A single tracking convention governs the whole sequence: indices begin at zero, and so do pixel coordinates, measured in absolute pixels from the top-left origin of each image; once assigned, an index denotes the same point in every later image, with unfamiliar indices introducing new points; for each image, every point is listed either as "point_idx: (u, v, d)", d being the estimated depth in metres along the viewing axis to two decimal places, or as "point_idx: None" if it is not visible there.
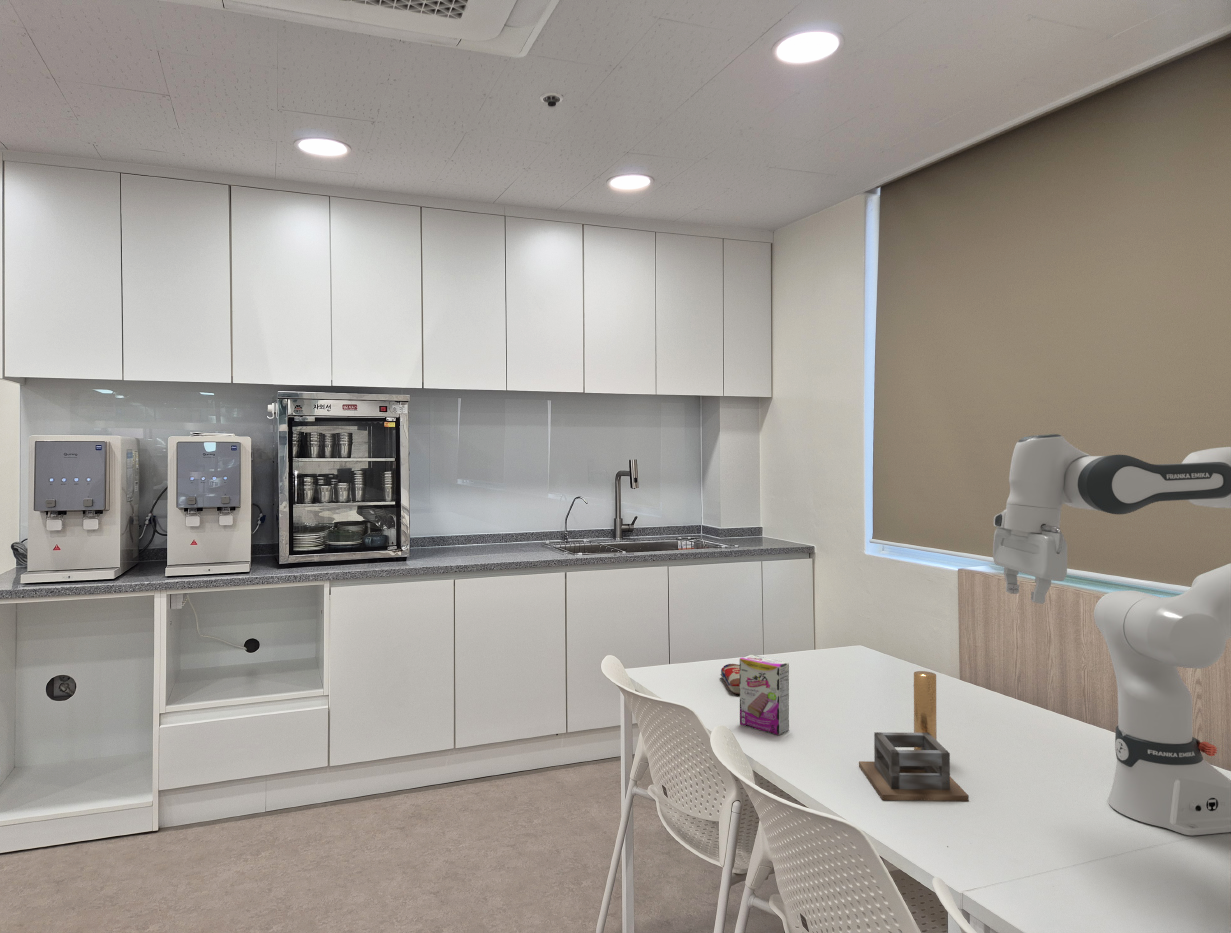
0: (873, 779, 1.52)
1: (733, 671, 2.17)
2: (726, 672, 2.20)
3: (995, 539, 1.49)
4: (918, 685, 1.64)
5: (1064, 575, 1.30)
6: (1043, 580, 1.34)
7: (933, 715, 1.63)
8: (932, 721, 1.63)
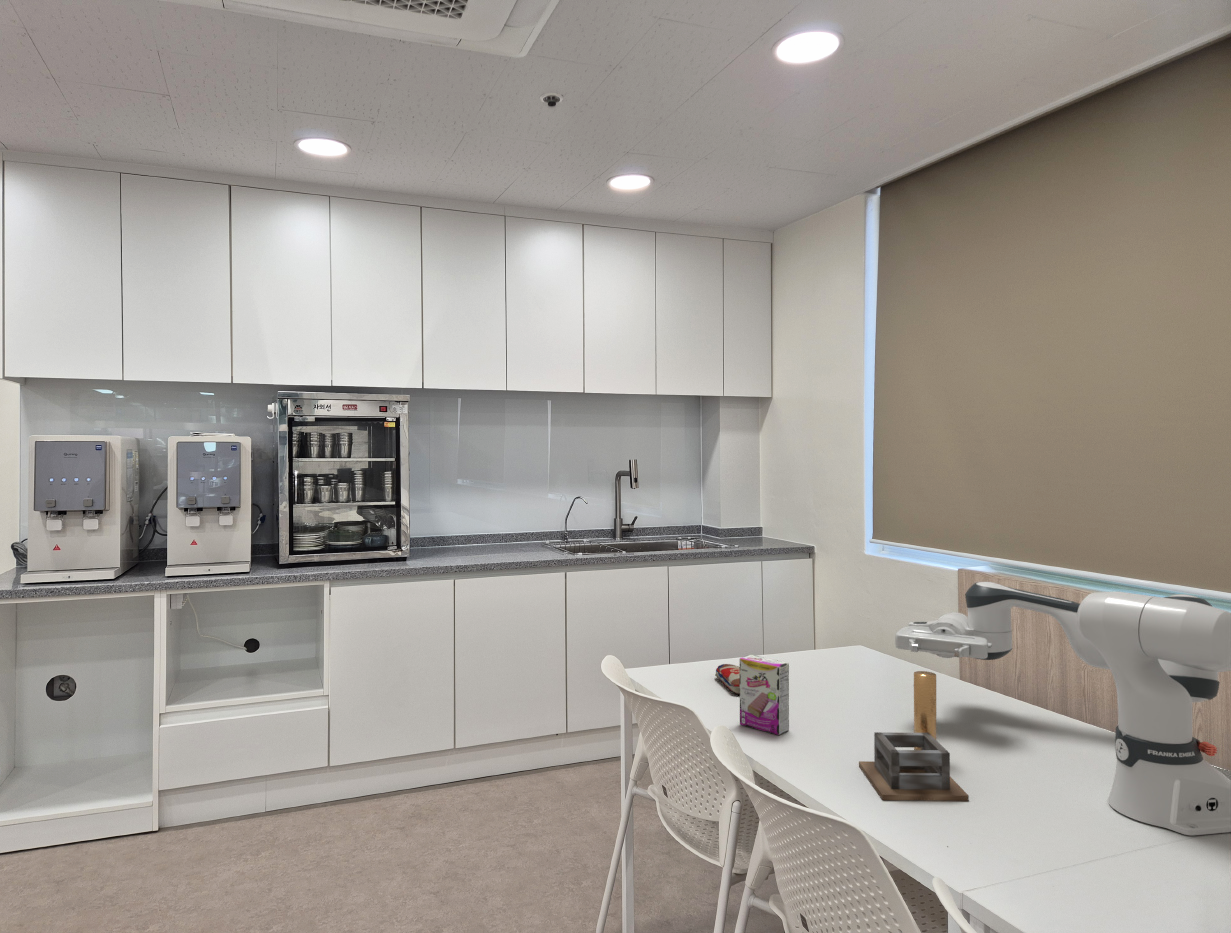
0: (873, 779, 1.52)
1: (731, 671, 2.17)
2: (723, 673, 2.19)
3: (905, 628, 1.88)
4: (918, 685, 1.64)
5: (987, 656, 1.75)
6: (969, 649, 1.76)
7: (933, 715, 1.63)
8: (932, 721, 1.63)
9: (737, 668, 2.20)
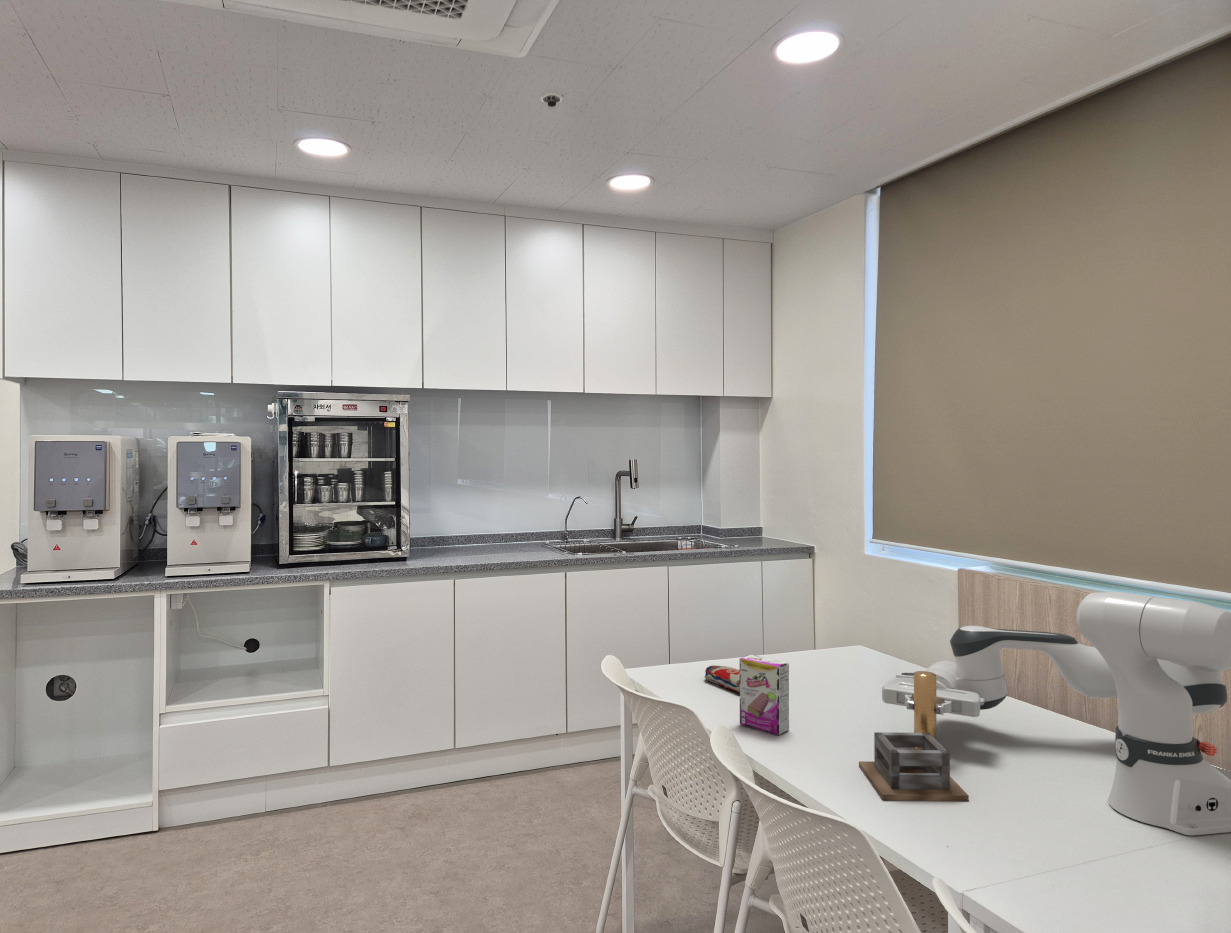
0: (873, 779, 1.52)
1: (729, 672, 2.16)
2: (719, 674, 2.18)
3: (893, 680, 1.77)
4: (918, 685, 1.64)
5: (979, 714, 1.64)
6: (951, 705, 1.66)
7: (933, 715, 1.63)
8: (932, 721, 1.63)
9: (731, 668, 2.19)
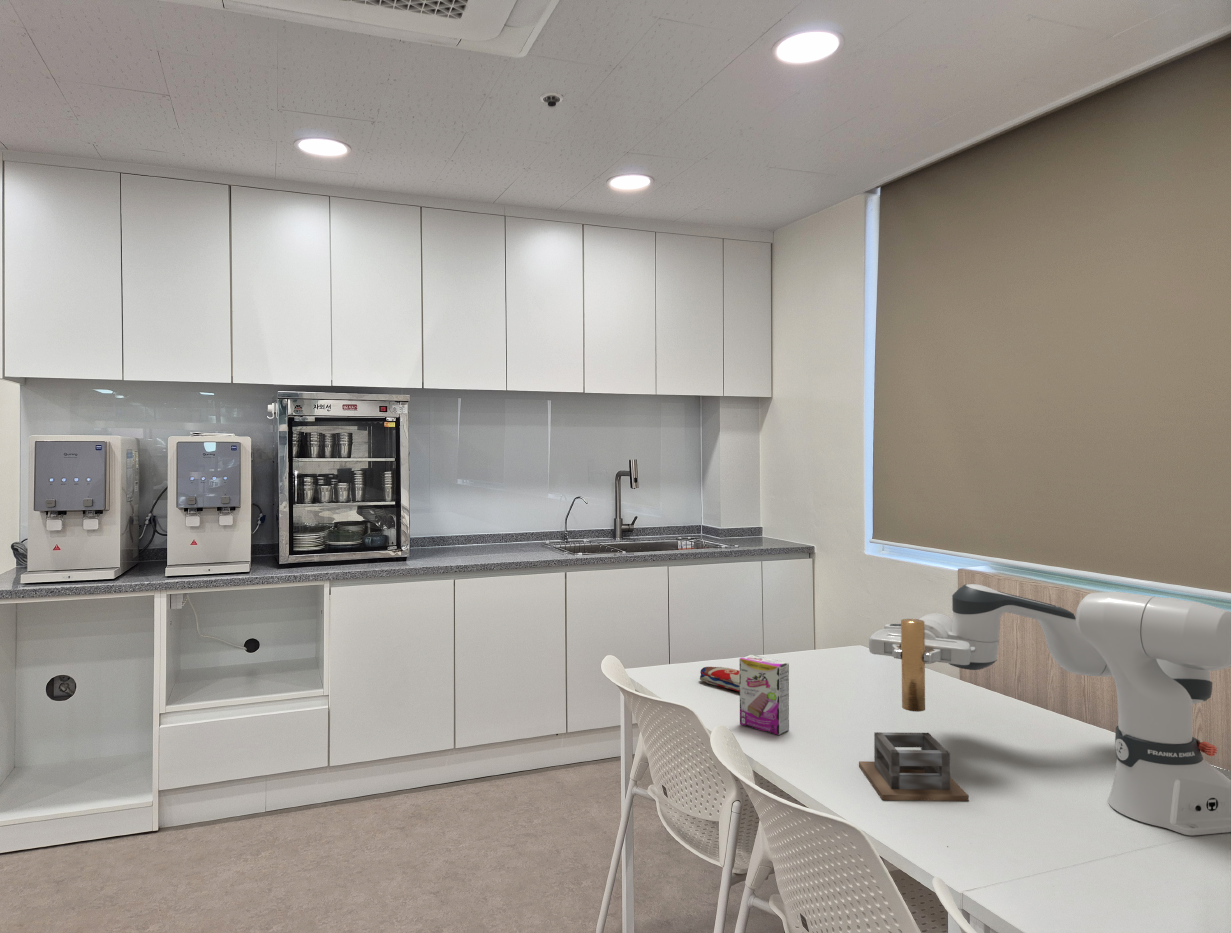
0: (873, 779, 1.52)
1: (728, 673, 2.16)
2: (717, 675, 2.17)
3: (880, 631, 1.71)
4: (905, 633, 1.57)
5: (969, 662, 1.57)
6: (940, 653, 1.59)
7: (921, 663, 1.57)
8: (920, 670, 1.57)
9: (728, 669, 2.19)
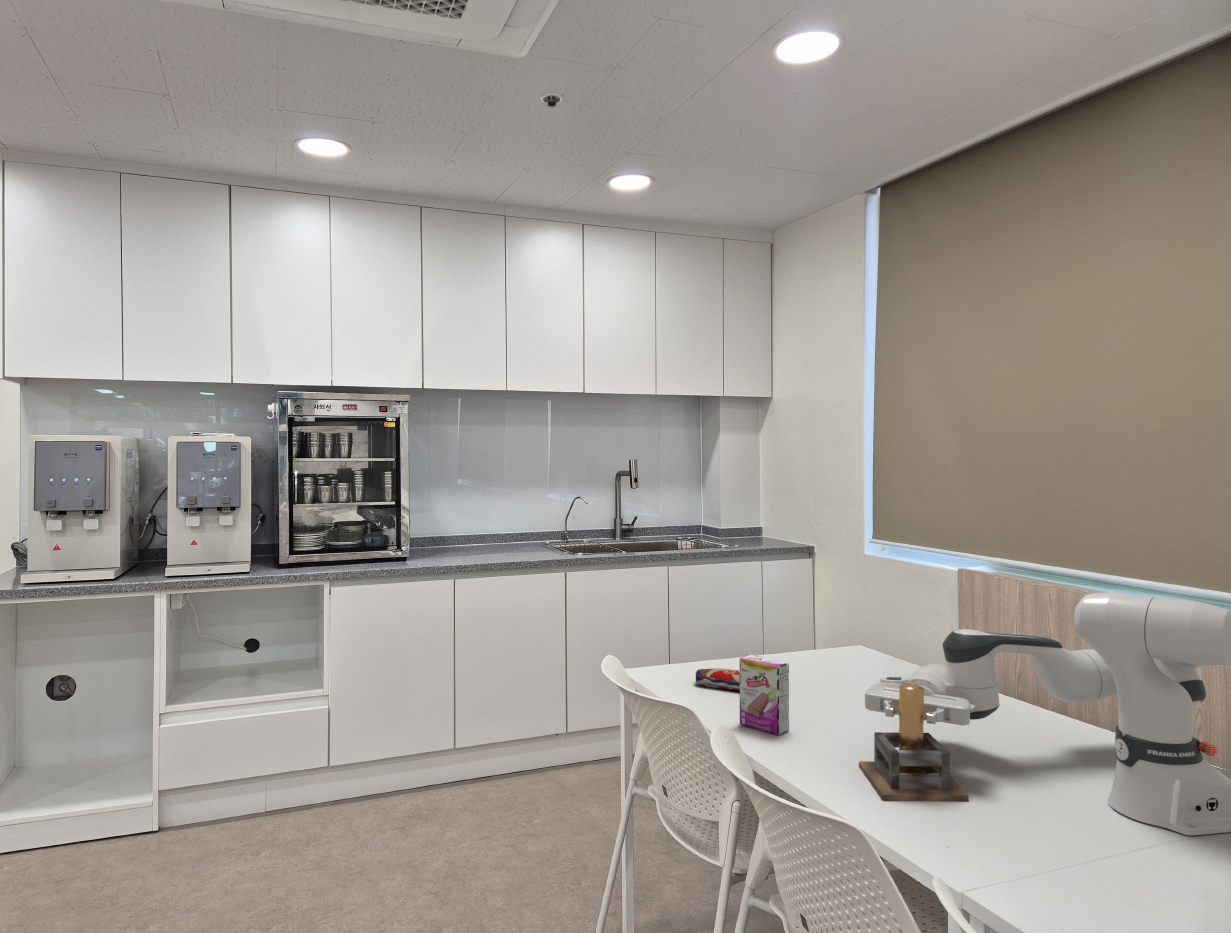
0: (873, 779, 1.52)
1: (729, 673, 2.15)
2: (718, 677, 2.15)
3: (876, 685, 1.65)
4: (904, 699, 1.51)
5: (968, 722, 1.51)
6: (944, 713, 1.52)
7: (920, 731, 1.51)
8: (918, 738, 1.51)
9: (725, 669, 2.18)
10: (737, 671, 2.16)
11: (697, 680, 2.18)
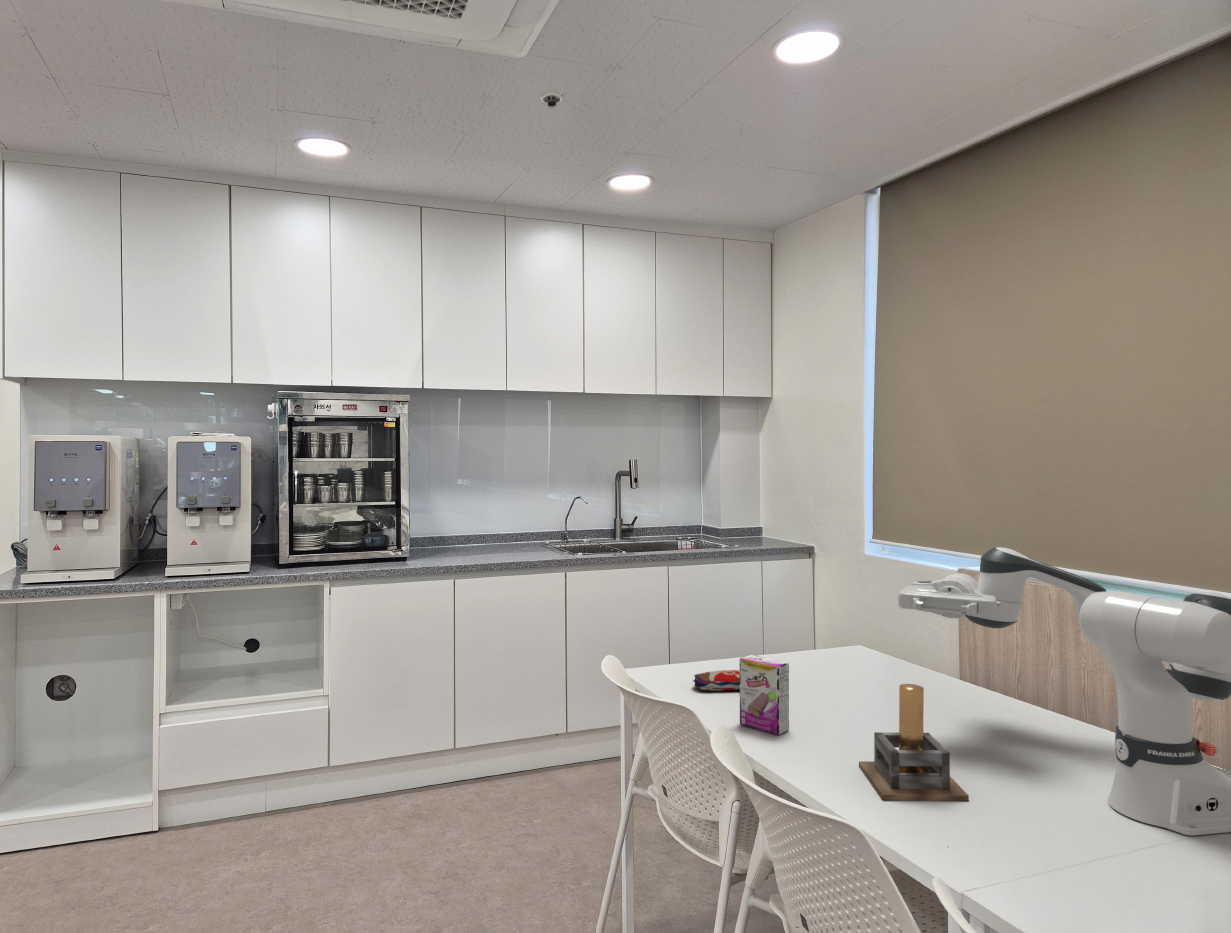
0: (873, 779, 1.52)
1: (732, 674, 2.14)
2: (723, 680, 2.13)
3: (909, 587, 1.78)
4: (904, 700, 1.51)
5: (995, 614, 1.65)
6: (976, 606, 1.66)
7: (920, 732, 1.51)
8: (918, 739, 1.51)
9: (722, 671, 2.17)
10: (735, 671, 2.17)
11: (701, 686, 2.12)
